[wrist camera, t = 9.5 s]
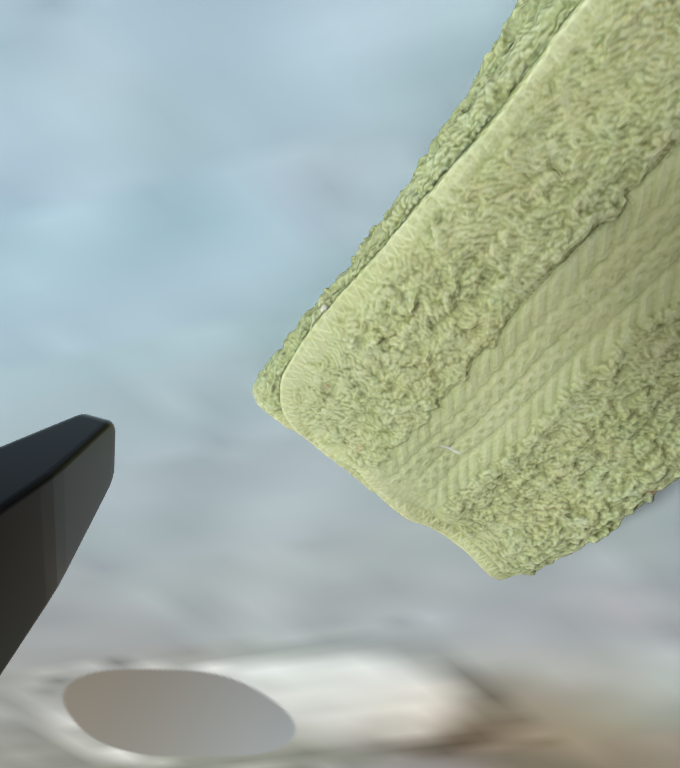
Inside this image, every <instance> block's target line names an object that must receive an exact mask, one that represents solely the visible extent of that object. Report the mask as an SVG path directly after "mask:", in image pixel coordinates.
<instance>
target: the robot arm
mask: <svg viewBox="0 0 680 768" xmlns="http://www.w3.org/2000/svg"><path fill="white" fill-rule="evenodd" d="M114 457H115V427H114V424H113V423H112V422H111V421H109V420H106V419H102V418H98V417H94V416H91V415H86V414H81V415H77V416H75V417H72V418H70V419H67V420H65V421H62V422H60V423H58V424H55V425H53V426H50V427H48V428H45V429H43V430H41V431H38V432H36V433H33V434H31V435H28V436H26V437H24V438H21V439H19V440H16V441H14V442H11V443H9V444H6V445H4V446H2V447H0V675H1V673H2V672H3V670H4V669H5V667H6V666H7V664H8V663H9V661H10V660H11V658H12V656H13V655H14V653H15V652H16V650H17V649H18V647H19V646H20V644H21V643H22V641H23V640H24V638H25V637H26V635H27V634H28V632H29V631H30V629H31V628H32V626H33V625H34V623H35V622H36V620H37V619H38V617H39V616H40V614H41V613H42V611H43V610H44V608H45V607H46V605H47V603H48V602H49V600H50V599H51V597H52V595H53V594H54V592H55V591H56V589H57V587H58V586H59V584H60V582H61V580H62V578H63V576H64V574H65V573H66V571H67V569H68V567H69V565H70V563H71V561H72V559H73V557H74V555H75V553H76V551H77V549H78V547H79V545H80V543H81V541H82V539H83V537H84V535H85V533H86V532H87V530H88V528H89V526H90V524H91V522H92V520H93V518H94V516H95V514H96V512H97V510H98V508H99V506H100V504H101V502H102V500H103V498H104V496H105V494H106V492H107V490H108V488H109V486H110V484H111V481H112V478H113V473H114Z"/></svg>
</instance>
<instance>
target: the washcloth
mask: <svg viewBox="0 0 680 768" xmlns="http://www.w3.org/2000/svg"><path fill="white" fill-rule="evenodd" d="M369 233H370V234H369V237H367V238H365V239H363V243H361V244H359V250H358V251H357V252H356V256H353V257H351V262H352V266H351V267H350V268H348V269H347V270H346V271H345V272H343V273H342V274H340V275H339V276H338V277H337V279H336V282H335V283H333V284H332V285H331V286H330V287H329V288H325V289H324V294H322V295H321V296H320V297H319V300H318V302H317V303H316V304H315V306H314V307H313V308H312V309H310V310H308V311H307V312H306V313H305V314H304V315H303V316H302V317H301V320H300V321H299V323H298V325H297V328H296V330H294V331H292V332H290V333H289V334H288V335H287V338H286V339H285V340H284V344H283V349H280V350H278V351H277V352H276V353H275V354H274V355H273V356H272V357H271V358H270V361H269V362H268V363H267V364H266V365H265V367H264V369H263V371H260V372H259V374H258V378H257V380H256V381H255V383H254V387H253V390H252V392H253V395H254V397H255V400H256V402H257V404H258V405H259V407H261V408H262V409H264V410H265V411H266V412H267V413H268V414H269V415H271V416H272V417H273V418H274V419H275V420H277V421H278V422H280V423H281V424H283V425H284V426H285V427H286V428H289V429H291V430H293V431H295V432H297V433H298V434H300V435H301V436H302V437H304V438H305V439H306V440H308V441H309V442H310V443H311V444H313V445H314V446H316V447H317V448H318V449H319V450H321V451H322V452H323V453H324V455H326V456H328V457H330V458H331V459H332V460H333V461H335V462H336V463H337V465H339V466H341V467H342V468H344V469H345V470H347V471H348V472H349V473H350V474H351V475H352V476H353V477H355V478H357V479H358V480H359V481H360V482H361V483H362V484H363V485H365V486H366V487H367V488H368V489H369V490H370V491H372V492H373V493H375V494H378V495H379V496H380V497H381V499H382V500H384V501H385V502H386V503H387V504H388V505H390V506H391V507H392V508H393V509H394V510H395V511H397V512H398V513H399V514H400V515H402V516H403V517H404V518H406V519H408V520H410V521H413V522H416V523H419V524H423V525H426V526H429V527H431V528H432V529H434V530H436V531H438V532H440V533H441V534H443V535H445V536H446V537H447V538H449V539H450V540H451V541H453V542H454V543H455V544H457V545H458V546H459V547H461V548H462V549H463V550H464V551H466V552H467V553H468V554H469V555H470V556H471V557H472V558H473V559H474V560H475V561H476V562H477V563H478V564H479V566H480V567H481V568H482V569H483V570H484V571H485V572H486V573H487V574H488V575H490V576H491V577H492V578H496V579H498V580H502V579H507V578H508V577H510V576H515V575H519V574H526V575H535V573H536V571H537V570H540V569H541V568H543V567H544V566H545V565H551V564H552V563H554V561H555V560H557V559H559V558H560V557H564V556H567V555H569V554H572V553H573V552H575V551H578V550H580V549H581V548H582V547H584V545H585V544H586V543H588V542H592V543H596V542H598V541H600V540H601V539H603V538H604V537H606V536H608V535H609V533H611V532H612V531H613V530H615V529H617V528H618V527H619V526H620V524H621V521H622V519H623V517H625V516H627V515H631V514H633V513H634V511H635V509H636V508H639V507H640V506H641V505H642V504H643V503H644V502H645V501H646V502H653V500H654V495H655V493H656V491H659V490H662V489H665V488H666V487H667V486H668V485H669V484H671V483H672V482H674V481H676V480H678V479H679V478H680V0H517V4H516V7H515V9H514V10H513V12H512V14H511V16H510V18H509V19H508V20H507V21H506V22H505V23H504V24H503V30H502V32H501V35H500V38H499V39H498V40H497V41H496V42H495V43H494V44H493V47H492V51H491V52H489V53H486V54H485V56H484V59H483V63H482V65H481V68H480V71H479V73H478V74H477V76H476V78H475V79H474V81H473V84H472V86H471V88H470V91H469V93H468V95H467V97H466V98H465V99H464V100H463V101H461V103H460V104H459V106H458V107H457V108H456V109H455V110H454V111H453V113H452V115H451V117H450V119H449V120H448V121H447V122H446V123H445V124H444V125H443V126H442V128H441V130H440V132H439V134H438V135H437V136H436V137H435V138H434V140H433V141H432V142H431V144H430V148H429V153H428V154H427V155H425V156H422V157H421V158H420V160H419V162H418V165H417V168H416V170H415V171H414V174H413V178H412V180H411V182H410V184H408V185H407V186H406V187H405V188H404V190H402V191H401V192H400V195H399V196H398V197H397V199H396V200H395V202H394V203H393V205H392V207H391V208H390V209H389V210H388V211H387V212H386V213H385V215H384V220H383V221H381V222H380V223H379V224H378V225H375V226H372V227H371V229H370V230H369Z"/></svg>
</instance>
